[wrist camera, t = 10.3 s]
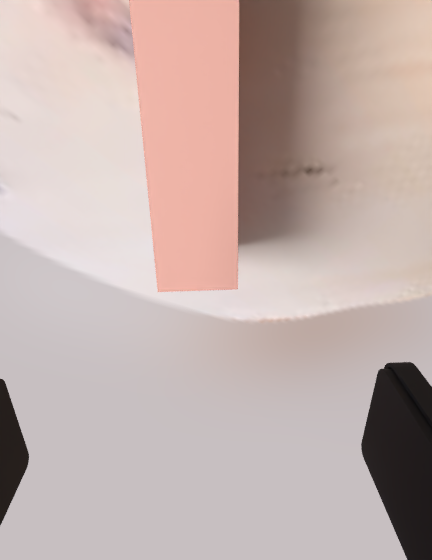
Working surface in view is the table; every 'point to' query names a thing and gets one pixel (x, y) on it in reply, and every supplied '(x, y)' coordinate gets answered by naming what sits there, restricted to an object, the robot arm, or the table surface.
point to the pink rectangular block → (190, 137)
